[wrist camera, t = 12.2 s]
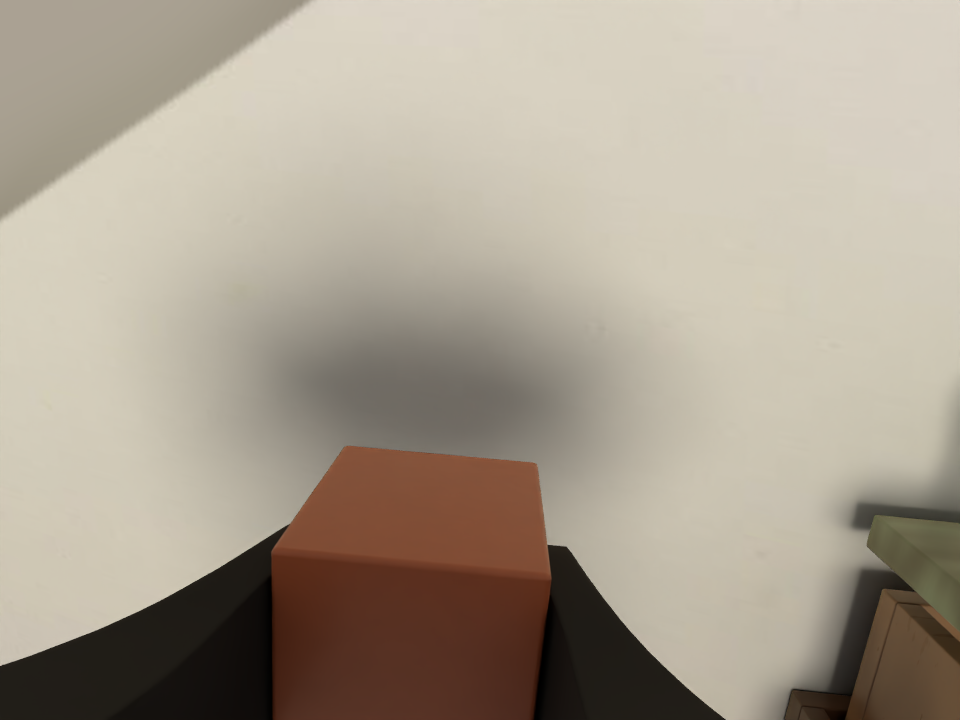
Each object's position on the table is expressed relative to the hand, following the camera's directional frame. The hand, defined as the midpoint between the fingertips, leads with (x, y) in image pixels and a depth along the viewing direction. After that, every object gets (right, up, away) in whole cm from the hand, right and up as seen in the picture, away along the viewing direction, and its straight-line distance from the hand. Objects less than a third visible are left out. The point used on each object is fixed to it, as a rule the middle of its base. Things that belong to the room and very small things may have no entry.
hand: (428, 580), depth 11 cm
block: (0, 0, +1) cm, 1 cm away
